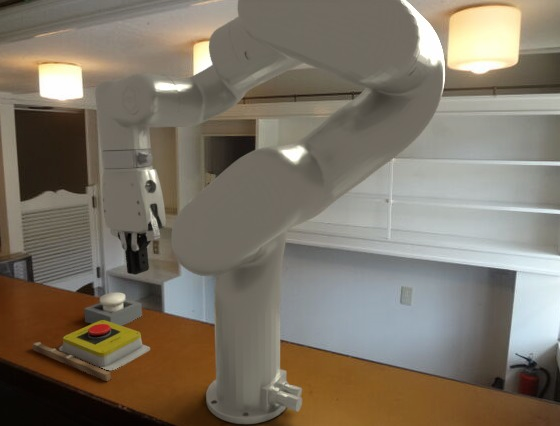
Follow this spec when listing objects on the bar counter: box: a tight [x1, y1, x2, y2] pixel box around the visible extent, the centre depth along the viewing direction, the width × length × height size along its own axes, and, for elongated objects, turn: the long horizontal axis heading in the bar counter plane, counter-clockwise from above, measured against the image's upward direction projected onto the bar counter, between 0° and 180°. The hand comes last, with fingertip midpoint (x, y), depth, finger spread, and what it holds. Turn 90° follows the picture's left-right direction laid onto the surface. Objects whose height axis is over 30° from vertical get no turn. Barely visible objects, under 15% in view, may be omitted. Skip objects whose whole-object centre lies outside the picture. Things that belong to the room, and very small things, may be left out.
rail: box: [32, 341, 112, 382], centre depth 76 cm, size 20×1×1 cm, turn 60°
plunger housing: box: [84, 298, 143, 327], centre depth 93 cm, size 8×8×3 cm
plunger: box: [99, 292, 126, 313], centre depth 93 cm, size 5×5×4 cm
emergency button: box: [58, 320, 151, 372], centre depth 81 cm, size 9×4×15 cm
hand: (138, 271), depth 74 cm, fingers closed
